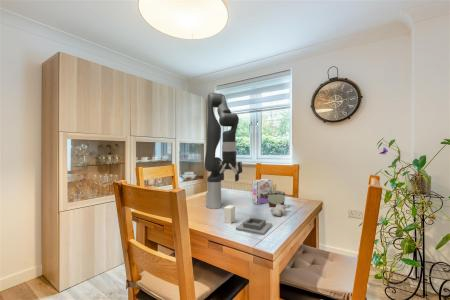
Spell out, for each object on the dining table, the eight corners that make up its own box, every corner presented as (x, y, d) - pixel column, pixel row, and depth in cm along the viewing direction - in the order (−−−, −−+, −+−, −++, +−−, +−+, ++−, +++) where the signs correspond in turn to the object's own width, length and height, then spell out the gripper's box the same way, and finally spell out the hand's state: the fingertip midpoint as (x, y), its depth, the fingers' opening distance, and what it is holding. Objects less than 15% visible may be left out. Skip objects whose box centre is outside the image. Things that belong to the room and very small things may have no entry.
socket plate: (235, 229, 106) (235, 223, 105) (247, 220, 118) (247, 215, 118) (263, 235, 99) (263, 228, 99) (272, 225, 111) (272, 219, 111)
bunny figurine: (267, 209, 126) (276, 200, 139) (268, 217, 127) (276, 208, 139) (284, 211, 121) (291, 202, 134) (284, 220, 122) (291, 210, 135)
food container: (284, 205, 148) (284, 190, 148) (286, 207, 142) (286, 192, 142) (266, 204, 149) (266, 190, 149) (266, 207, 143) (266, 192, 143)
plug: (224, 222, 116) (224, 207, 116) (228, 219, 120) (228, 205, 120) (230, 223, 114) (230, 208, 114) (235, 220, 118) (235, 206, 118)
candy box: (257, 204, 149) (257, 181, 149) (252, 203, 155) (252, 180, 154) (272, 202, 156) (272, 179, 155) (267, 200, 161) (267, 178, 161)
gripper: (244, 150, 116) (244, 180, 117) (221, 150, 123) (221, 178, 124) (238, 150, 110) (238, 182, 110) (214, 150, 117) (214, 180, 117)
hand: (229, 180), depth 117 cm, fingers open, 8 cm apart
